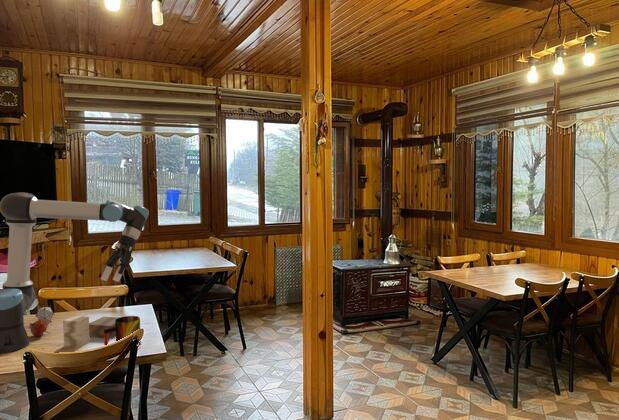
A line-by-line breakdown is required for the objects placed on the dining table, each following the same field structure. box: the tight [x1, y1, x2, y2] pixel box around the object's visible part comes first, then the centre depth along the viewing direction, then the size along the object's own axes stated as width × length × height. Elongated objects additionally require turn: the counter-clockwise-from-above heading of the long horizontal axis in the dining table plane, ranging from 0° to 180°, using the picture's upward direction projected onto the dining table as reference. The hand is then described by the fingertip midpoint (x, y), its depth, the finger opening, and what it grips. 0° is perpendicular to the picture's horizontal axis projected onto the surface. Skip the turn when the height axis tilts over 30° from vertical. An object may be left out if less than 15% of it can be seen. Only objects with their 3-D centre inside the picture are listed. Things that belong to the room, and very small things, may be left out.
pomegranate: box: [29, 319, 50, 338], centre depth 209 cm, size 7×7×10 cm
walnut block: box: [89, 316, 121, 339], centre depth 211 cm, size 12×12×6 cm
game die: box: [34, 305, 55, 323], centre depth 228 cm, size 9×8×10 cm
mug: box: [103, 315, 142, 345], centre depth 191 cm, size 10×14×12 cm
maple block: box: [62, 315, 91, 348], centre depth 198 cm, size 7×7×11 cm
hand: (109, 280), depth 207 cm, fingers open, 13 cm apart
